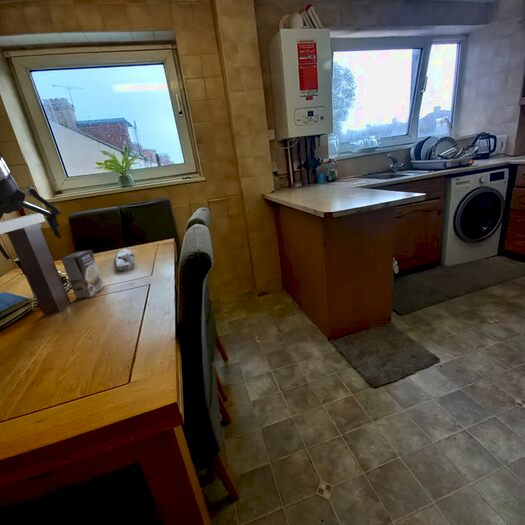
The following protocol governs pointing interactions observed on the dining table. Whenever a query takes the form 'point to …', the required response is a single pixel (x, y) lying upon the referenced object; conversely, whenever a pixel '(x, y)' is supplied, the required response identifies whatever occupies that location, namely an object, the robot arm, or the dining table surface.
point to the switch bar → (20, 222)
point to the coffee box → (83, 273)
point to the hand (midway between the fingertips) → (34, 246)
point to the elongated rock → (124, 259)
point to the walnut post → (39, 268)
